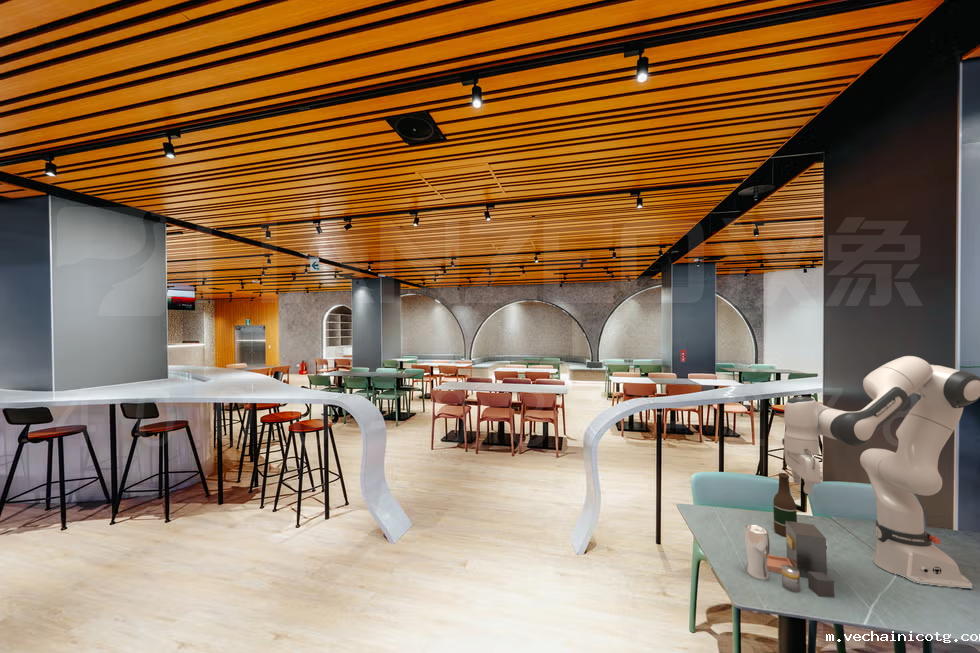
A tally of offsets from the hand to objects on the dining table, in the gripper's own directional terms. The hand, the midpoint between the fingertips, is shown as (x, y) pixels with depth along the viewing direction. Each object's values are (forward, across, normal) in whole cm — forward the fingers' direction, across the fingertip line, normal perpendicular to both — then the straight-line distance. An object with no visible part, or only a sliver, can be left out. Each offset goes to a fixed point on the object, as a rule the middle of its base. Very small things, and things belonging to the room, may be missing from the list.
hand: (802, 488), depth 127 cm
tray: (+30, +5, +6) cm, 31 cm away
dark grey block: (+30, +6, -2) cm, 30 cm away
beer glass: (+30, -3, +14) cm, 33 cm away
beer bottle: (+30, +34, -4) cm, 45 cm away
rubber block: (+30, -6, -2) cm, 30 cm away
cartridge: (+30, -7, +6) cm, 31 cm away
